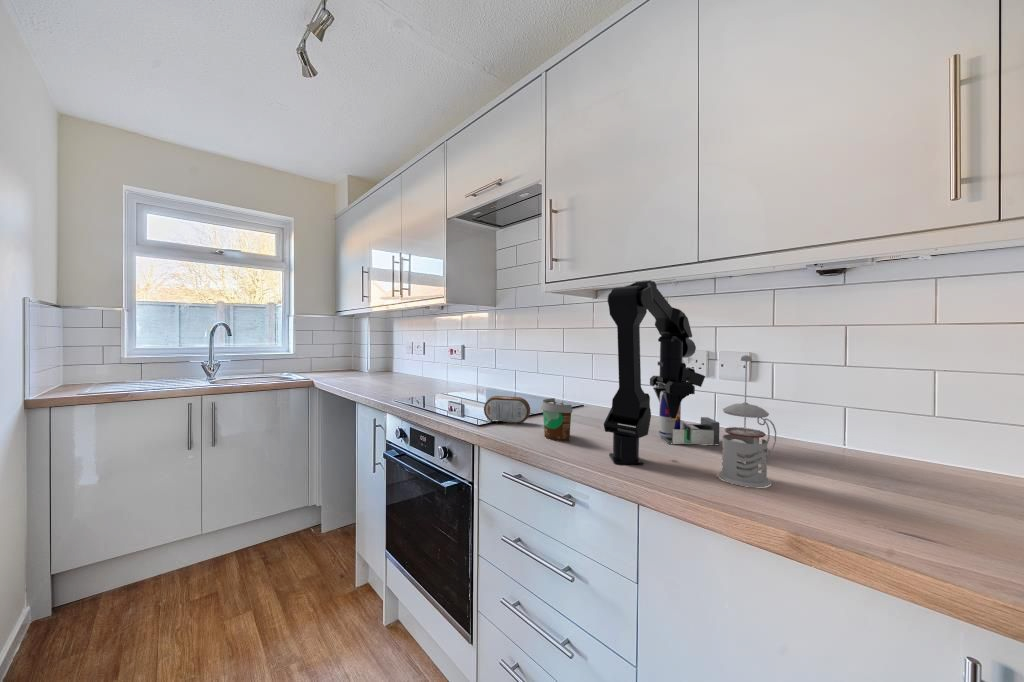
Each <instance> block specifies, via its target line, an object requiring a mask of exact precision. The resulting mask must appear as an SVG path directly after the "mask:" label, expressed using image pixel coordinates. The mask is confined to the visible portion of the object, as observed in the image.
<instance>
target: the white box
mask: <svg viewBox="0 0 1024 682" xmlns="http://www.w3.org/2000/svg"><path fill="white" fill-rule="evenodd" d="M689 424H690V423H687V422H685V421H684V420H682V419H680V429H681V430H688V440H690V430H697V429H699V428H697V427H695V426H693V425H689Z"/></svg>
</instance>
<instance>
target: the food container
mask: <svg viewBox="0 0 1024 682" xmlns="http://www.w3.org/2000/svg"><path fill="white" fill-rule="evenodd" d="M540 410H542V415H543V430H544V432H543V435H544V438H545V437H546V438H545V439H547V440H549V439H550V441H554V440H555V442H570V438H571V423H572V422H571V419H572V413H573V407H572V404H564V403H562V402H557V401H556V397H554V398H553V397H550V398H545V399H543V400H542V402H541V405H540Z"/></svg>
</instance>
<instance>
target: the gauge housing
mask: <svg viewBox="0 0 1024 682" xmlns="http://www.w3.org/2000/svg"><path fill="white" fill-rule="evenodd" d="M688 424H689V425H693V426H695V427H697V428H699V429H697V430H690V440H688V430H681V429H673V438H668V437H663V436H661V435H660V434H659V436H660V437H661V438H660V437H659V438H660V439H662V438H663V439H664V440H665V441H666V442H667V443H666V442H665V441H664V440H663V439H662V440H663V441H664V442H665V443H666V444H668V443H669V444H668V445H673V444H719V445H720V422H718V421H716V420H715V419H712V418H710V417H708V416H707V417H705V416H703V417H702V416H701V417H700V424H699V423H688ZM671 443H672V444H671Z"/></svg>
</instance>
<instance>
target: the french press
mask: <svg viewBox="0 0 1024 682" xmlns="http://www.w3.org/2000/svg"><path fill="white" fill-rule="evenodd" d="M752 361H753V359H752V357H751V356H750V355H748V354H747V355H742V356H741V357H740V362H745V375H744V376H745V380H744V382H745V383H744V384H745V385H744V402H742V403H734V404H731V405H728V406H725V407H724V408H722V411H723V413H725V414H727V415H730V416H735V417H741V418H742V417H743V418H744V422H743V423H744V424H743V425H744V427H739V426H738V427H737V426H729V427H725V428H724V432H725V433H726V434H724V435H722V446H721V447H722V457H721V460H722V462H721V465H722V468H721V470H720V471H719V472H718V473H716V474H717V475H718V477H720V478H721V479H723V480H725V481H728V482H730V483H733V484H737V485H741V486H748V487H765V486H768V485H770V484H771V483H772V481H771V480H770V479H769V478H768V477H767V475H768V474H767V469H768V466H767V465H768V454H770V453H771V452H772V451H773V449H774V447H775V445H776V442H777V430H776V426H775V423H773V421H772V420H771V419H768V418H767V417H769V415H770V413H769V412H768V411H766V410H765V409H764V408H762V407H760V406H758V405H755V404H751V403H748V402H747V377H748V375H747V373H748V371H747V370H748V362H752ZM746 418H751V419H753V418H755V419H756V418H757V424H758V425H759V426H764V425H766V428H767V440H766V439H763V438H764V437H765V436H766V433H765V432H764V431H762V430H760V429H753V428H749V427H747V425H746V421H747V420H746ZM760 419H761V420H763V423H760ZM767 421H768V422H769V423H770V424H771V425H772V428H773V431H774V442H773V444H772V446H771V448H770V450H768V445H769V441H770V436H771V435H770V432H771V431H770V427H769V425H768V422H767ZM760 438H761V443H760ZM733 440H739V442H738V441H733ZM740 441H741V442H740ZM743 442H744V443H743ZM760 458H761V459H760ZM759 459H760V460H759ZM759 465H761V466H759ZM760 471H761V472H760ZM717 475H716V476H717ZM770 481H771V482H770Z"/></svg>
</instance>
